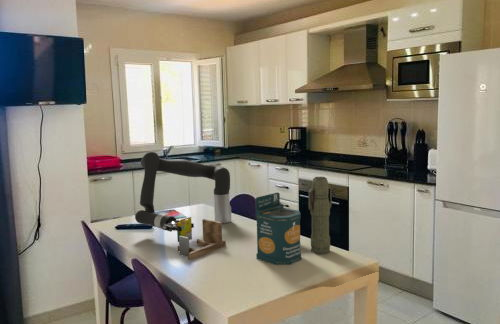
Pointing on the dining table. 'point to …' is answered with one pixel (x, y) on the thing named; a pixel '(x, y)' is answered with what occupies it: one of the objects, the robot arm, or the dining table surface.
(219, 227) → the rack
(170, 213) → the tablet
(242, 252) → the dining table surface
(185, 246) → the bookend
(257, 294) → the dining table surface
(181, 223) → the crayon box
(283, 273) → the dining table surface
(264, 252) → the donation box
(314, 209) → the thermos
